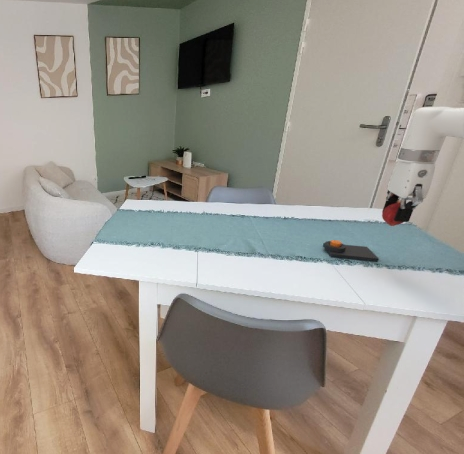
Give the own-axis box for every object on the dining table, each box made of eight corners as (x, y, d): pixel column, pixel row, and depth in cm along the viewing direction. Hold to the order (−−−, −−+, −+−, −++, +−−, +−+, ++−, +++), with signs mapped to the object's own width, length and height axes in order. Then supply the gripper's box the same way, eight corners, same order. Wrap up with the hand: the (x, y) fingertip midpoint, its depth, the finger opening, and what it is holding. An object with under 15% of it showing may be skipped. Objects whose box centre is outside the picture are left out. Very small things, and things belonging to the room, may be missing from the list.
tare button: (338, 244, 103) (339, 240, 103) (341, 248, 101) (342, 244, 100) (328, 243, 104) (329, 239, 104) (331, 247, 102) (332, 243, 101)
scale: (365, 250, 104) (368, 242, 102) (377, 262, 96) (380, 254, 95) (319, 245, 108) (321, 238, 107) (327, 257, 101) (329, 249, 99)
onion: (405, 231, 83) (415, 205, 80) (378, 226, 87) (387, 201, 84) (404, 224, 87) (414, 199, 84) (378, 220, 91) (387, 196, 88)
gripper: (459, 161, 70) (429, 229, 77) (416, 150, 85) (394, 208, 92) (419, 161, 73) (394, 227, 80) (384, 150, 88) (365, 207, 95)
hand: (394, 216), depth 86 cm, fingers closed on onion, 5 cm apart
